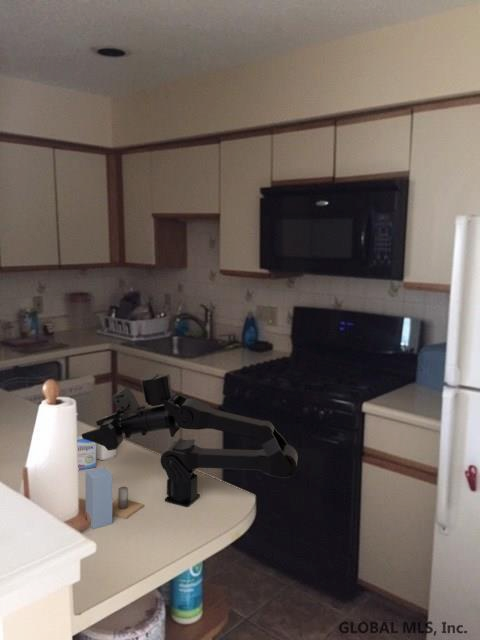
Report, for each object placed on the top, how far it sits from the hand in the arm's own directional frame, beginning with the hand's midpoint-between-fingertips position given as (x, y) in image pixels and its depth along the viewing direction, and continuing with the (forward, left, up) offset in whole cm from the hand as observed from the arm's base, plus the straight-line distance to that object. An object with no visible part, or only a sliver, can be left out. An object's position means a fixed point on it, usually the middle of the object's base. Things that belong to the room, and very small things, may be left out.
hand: (89, 429), depth 139 cm
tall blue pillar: (-12, +12, -16) cm, 23 cm away
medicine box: (+12, -10, -16) cm, 22 cm away
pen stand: (-13, +4, -16) cm, 21 cm away
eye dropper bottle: (+10, -19, -16) cm, 26 cm away
